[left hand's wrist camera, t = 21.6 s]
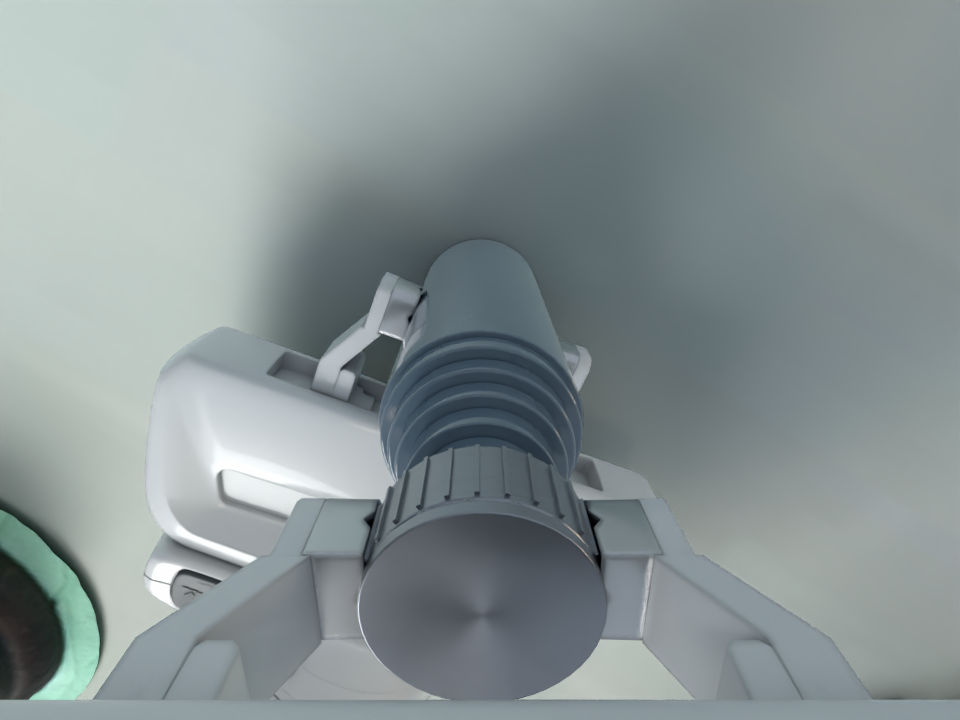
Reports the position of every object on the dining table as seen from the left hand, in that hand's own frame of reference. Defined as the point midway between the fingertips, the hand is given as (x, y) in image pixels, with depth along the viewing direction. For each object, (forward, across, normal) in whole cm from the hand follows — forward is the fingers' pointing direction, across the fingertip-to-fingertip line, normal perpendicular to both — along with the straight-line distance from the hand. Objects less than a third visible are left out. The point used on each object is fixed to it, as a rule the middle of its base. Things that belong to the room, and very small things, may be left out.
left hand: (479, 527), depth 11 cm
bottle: (+16, 0, 0) cm, 16 cm away
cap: (-2, 0, 0) cm, 2 cm away
